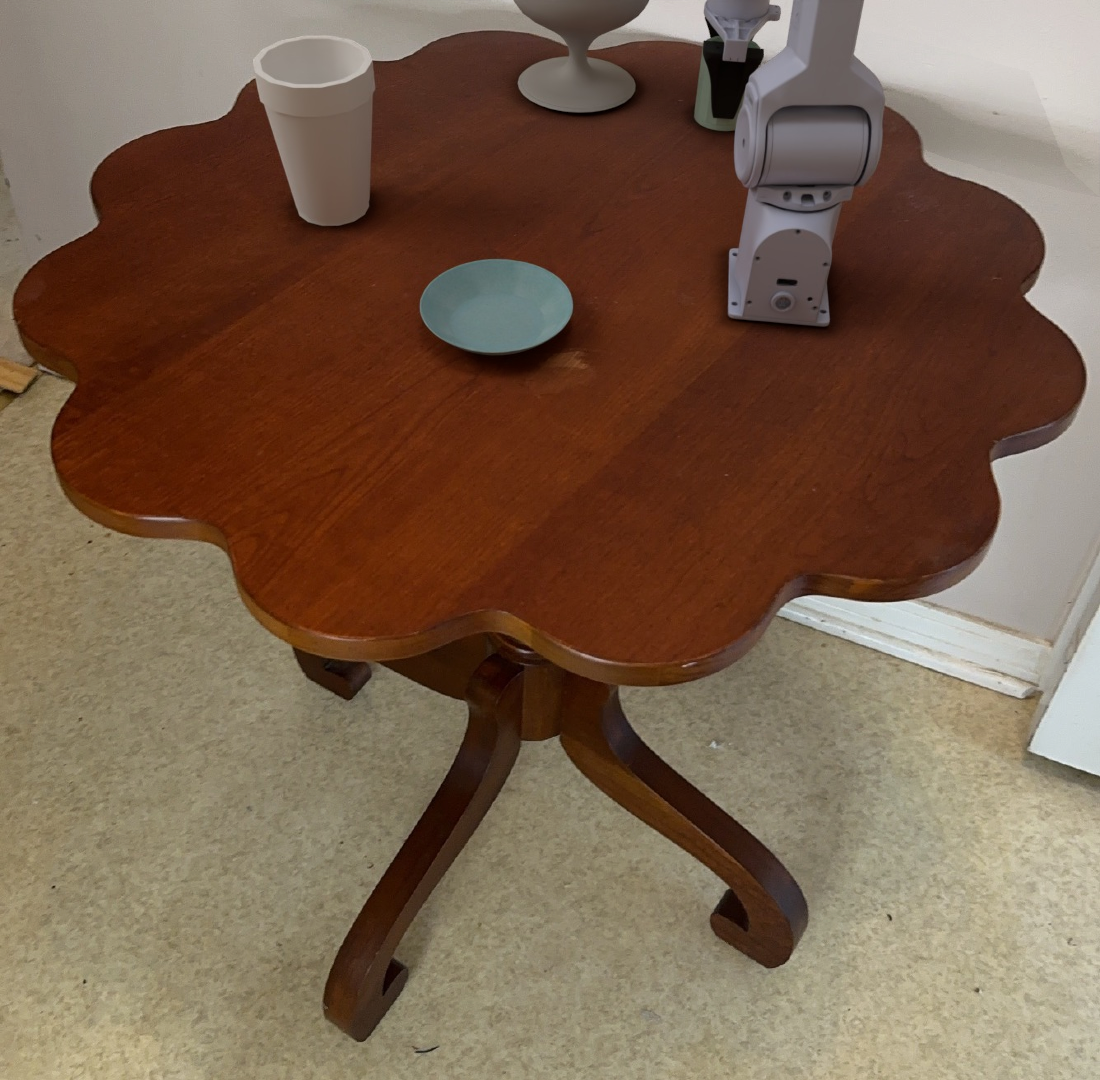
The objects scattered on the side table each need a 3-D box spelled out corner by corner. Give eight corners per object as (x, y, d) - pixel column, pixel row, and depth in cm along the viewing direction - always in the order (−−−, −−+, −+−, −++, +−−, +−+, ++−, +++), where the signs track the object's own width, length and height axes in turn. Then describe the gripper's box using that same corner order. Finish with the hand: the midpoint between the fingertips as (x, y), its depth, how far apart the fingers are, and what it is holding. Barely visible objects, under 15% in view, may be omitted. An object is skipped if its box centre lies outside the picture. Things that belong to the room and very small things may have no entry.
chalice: (496, 63, 116) (494, -92, 105) (622, 52, 119) (633, -100, 108) (525, 127, 107) (526, -35, 96) (661, 113, 110) (677, -46, 98)
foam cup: (331, 168, 101) (311, 25, 92) (408, 200, 98) (395, 55, 88) (256, 212, 96) (227, 65, 86) (335, 248, 92) (313, 99, 83)
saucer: (519, 394, 80) (519, 370, 79) (390, 339, 84) (388, 315, 83) (599, 313, 87) (601, 289, 85) (477, 266, 91) (476, 242, 89)
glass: (749, 133, 107) (760, 62, 102) (692, 129, 108) (701, 58, 102) (748, 107, 111) (760, 37, 106) (694, 102, 111) (703, 33, 106)
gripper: (791, -9, 93) (765, 141, 103) (787, -71, 103) (763, 72, 113) (708, -15, 93) (690, 135, 103) (712, -76, 103) (695, 67, 113)
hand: (723, 102), depth 108 cm, fingers closed on glass, 5 cm apart
